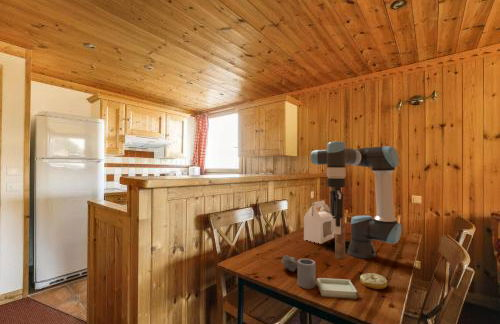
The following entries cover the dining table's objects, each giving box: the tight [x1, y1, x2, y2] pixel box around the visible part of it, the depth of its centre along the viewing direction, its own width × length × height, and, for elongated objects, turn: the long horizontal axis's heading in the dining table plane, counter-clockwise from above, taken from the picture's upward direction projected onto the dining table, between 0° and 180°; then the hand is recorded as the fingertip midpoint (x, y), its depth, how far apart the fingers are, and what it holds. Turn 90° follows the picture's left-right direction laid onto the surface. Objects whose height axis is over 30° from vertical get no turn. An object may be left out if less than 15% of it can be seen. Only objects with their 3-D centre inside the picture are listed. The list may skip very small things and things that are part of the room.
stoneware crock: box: [296, 258, 316, 289], centre depth 109 cm, size 8×8×10 cm
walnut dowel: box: [334, 223, 346, 261], centre depth 104 cm, size 5×4×14 cm
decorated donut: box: [359, 272, 388, 290], centre depth 109 cm, size 10×11×4 cm
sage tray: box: [316, 277, 359, 299], centre depth 103 cm, size 14×11×2 cm
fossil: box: [281, 254, 298, 272], centre depth 123 cm, size 11×9×8 cm
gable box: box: [303, 199, 335, 245], centre depth 180 cm, size 22×13×28 cm, turn 137°
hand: (336, 232), depth 104 cm, fingers closed on walnut dowel, 4 cm apart
